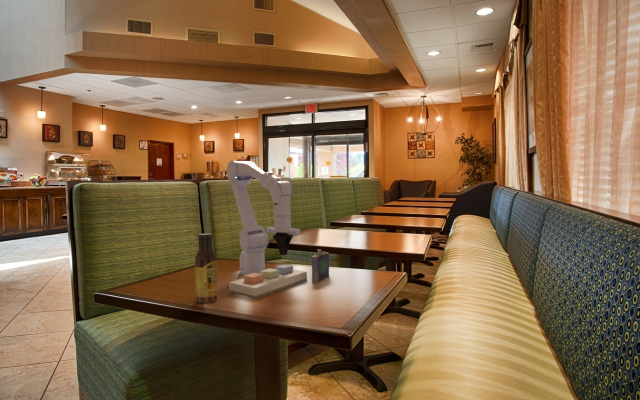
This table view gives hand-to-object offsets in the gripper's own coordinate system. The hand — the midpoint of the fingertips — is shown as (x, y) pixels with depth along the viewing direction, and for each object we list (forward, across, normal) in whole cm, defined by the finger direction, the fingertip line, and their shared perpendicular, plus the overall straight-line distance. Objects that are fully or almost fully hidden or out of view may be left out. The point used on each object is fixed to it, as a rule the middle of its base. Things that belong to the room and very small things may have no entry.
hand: (283, 254), depth 128 cm
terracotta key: (+7, 0, -14) cm, 16 cm away
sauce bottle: (+10, -5, -28) cm, 30 cm away
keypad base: (+9, 0, -7) cm, 12 cm away
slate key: (+7, 0, 0) cm, 7 cm away
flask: (+10, +9, +9) cm, 16 cm away
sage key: (+7, 0, -7) cm, 10 cm away
